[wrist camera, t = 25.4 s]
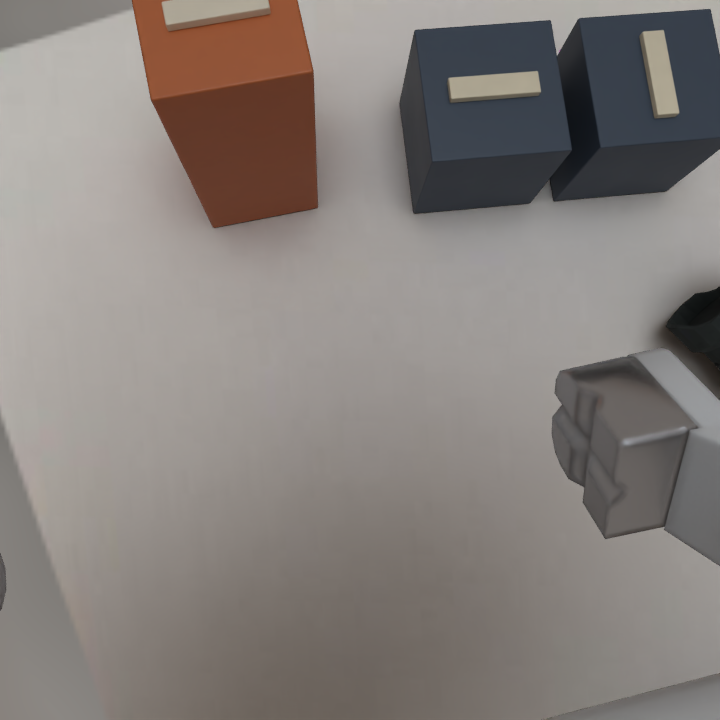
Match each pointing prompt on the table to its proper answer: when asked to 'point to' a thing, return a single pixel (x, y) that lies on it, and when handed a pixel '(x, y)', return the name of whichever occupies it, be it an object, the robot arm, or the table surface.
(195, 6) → the i letter block
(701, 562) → the table surface
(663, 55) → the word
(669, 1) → the table surface
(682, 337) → the flashlight
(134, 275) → the table surface
